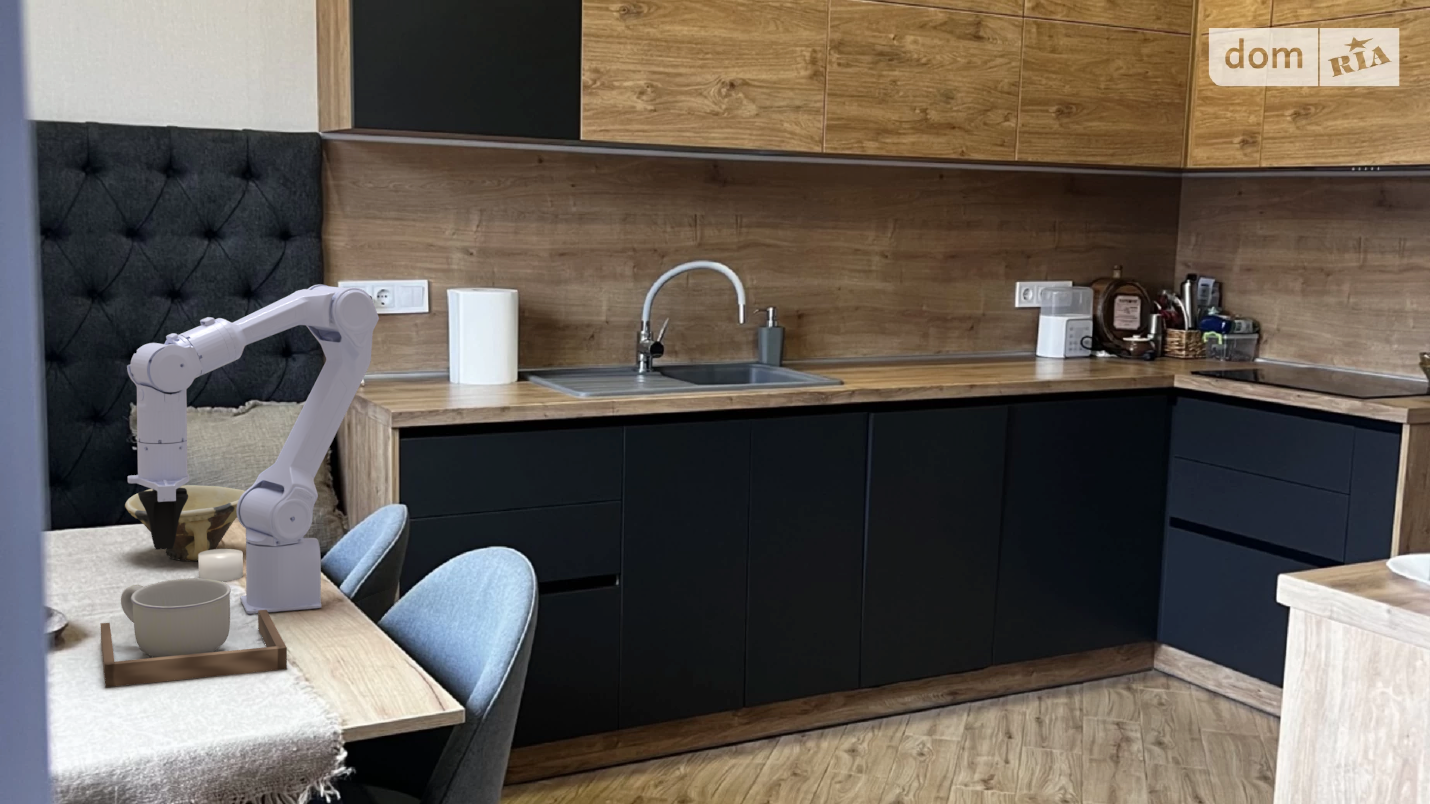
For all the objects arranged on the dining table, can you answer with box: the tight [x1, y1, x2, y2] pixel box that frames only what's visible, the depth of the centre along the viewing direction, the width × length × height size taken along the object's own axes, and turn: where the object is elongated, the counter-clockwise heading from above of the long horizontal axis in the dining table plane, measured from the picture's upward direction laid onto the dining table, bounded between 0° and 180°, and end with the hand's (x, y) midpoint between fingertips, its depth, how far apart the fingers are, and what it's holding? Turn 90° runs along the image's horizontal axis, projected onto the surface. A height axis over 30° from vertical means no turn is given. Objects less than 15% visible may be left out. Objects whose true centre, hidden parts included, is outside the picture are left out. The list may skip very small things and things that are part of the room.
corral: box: [100, 610, 288, 688], centre depth 159 cm, size 19×17×2 cm
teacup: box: [120, 577, 231, 658], centre depth 159 cm, size 14×11×8 cm
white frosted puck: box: [198, 548, 244, 583], centre depth 195 cm, size 6×6×4 cm
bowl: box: [124, 484, 246, 562], centre depth 206 cm, size 18×18×10 cm
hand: (163, 548), depth 170 cm, fingers closed
